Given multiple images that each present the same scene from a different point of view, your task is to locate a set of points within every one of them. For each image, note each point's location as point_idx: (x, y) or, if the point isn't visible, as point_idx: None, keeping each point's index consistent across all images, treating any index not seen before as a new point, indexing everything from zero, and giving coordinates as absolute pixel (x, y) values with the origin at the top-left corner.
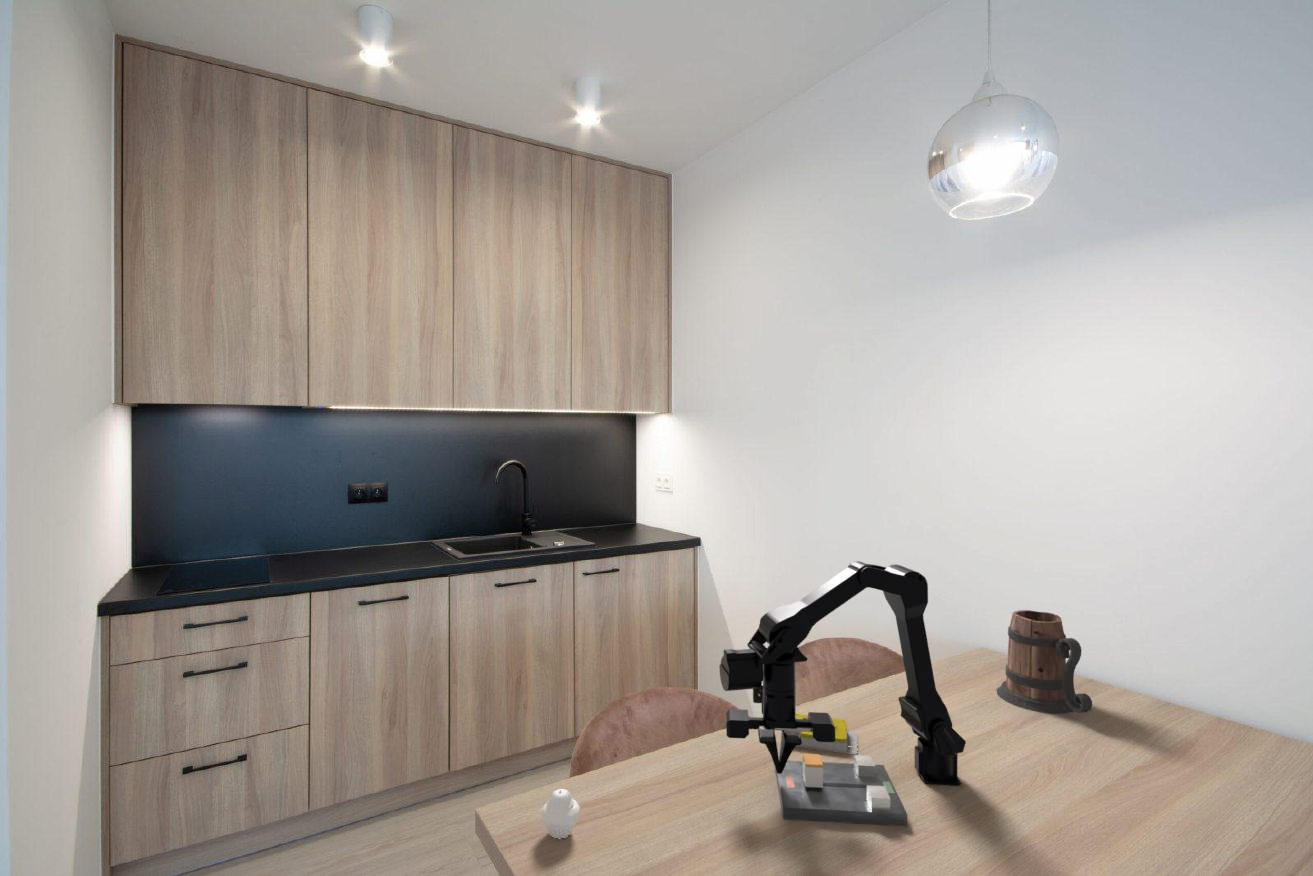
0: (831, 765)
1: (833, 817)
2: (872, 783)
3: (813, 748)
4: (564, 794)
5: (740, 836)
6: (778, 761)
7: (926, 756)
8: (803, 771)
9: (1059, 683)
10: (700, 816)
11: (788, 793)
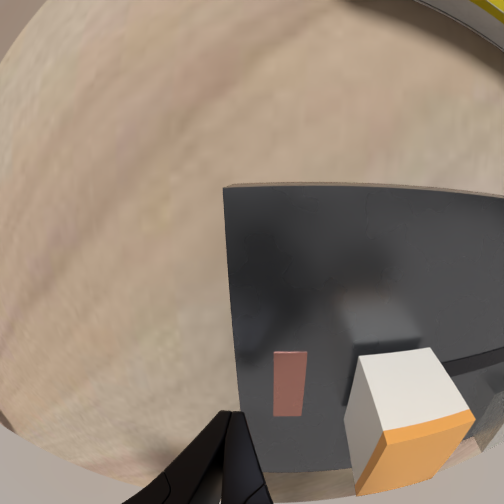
0: (501, 225)
1: None
2: None
3: (419, 1)
4: None
5: (162, 465)
6: (218, 499)
7: None
8: (361, 401)
9: None
10: (75, 413)
11: (271, 435)
